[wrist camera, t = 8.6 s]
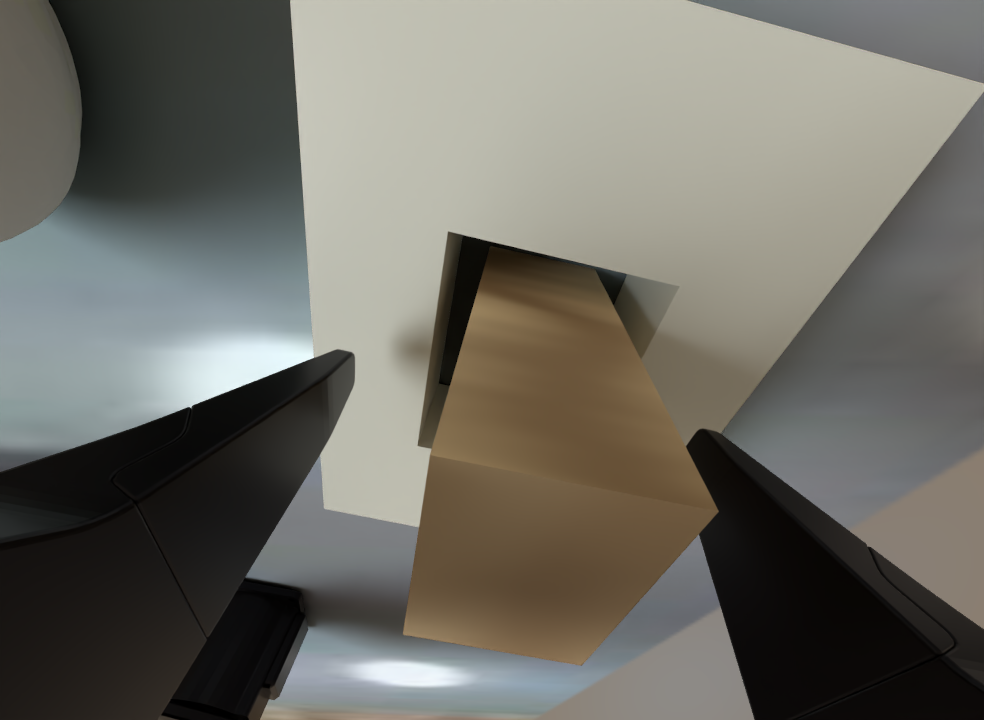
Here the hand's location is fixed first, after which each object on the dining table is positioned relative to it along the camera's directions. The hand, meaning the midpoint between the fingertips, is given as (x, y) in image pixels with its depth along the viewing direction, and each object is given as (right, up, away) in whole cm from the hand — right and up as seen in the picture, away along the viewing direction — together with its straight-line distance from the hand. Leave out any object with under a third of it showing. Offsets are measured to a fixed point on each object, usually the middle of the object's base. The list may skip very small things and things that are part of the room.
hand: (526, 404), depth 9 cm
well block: (0, +2, +4) cm, 5 cm away
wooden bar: (0, +2, +4) cm, 5 cm away
